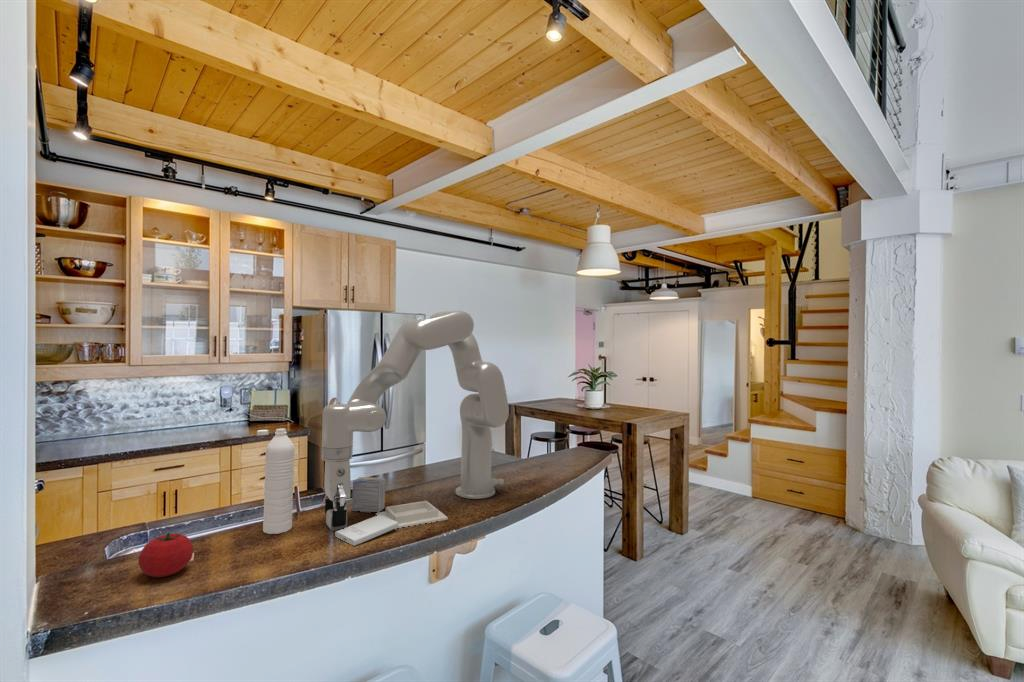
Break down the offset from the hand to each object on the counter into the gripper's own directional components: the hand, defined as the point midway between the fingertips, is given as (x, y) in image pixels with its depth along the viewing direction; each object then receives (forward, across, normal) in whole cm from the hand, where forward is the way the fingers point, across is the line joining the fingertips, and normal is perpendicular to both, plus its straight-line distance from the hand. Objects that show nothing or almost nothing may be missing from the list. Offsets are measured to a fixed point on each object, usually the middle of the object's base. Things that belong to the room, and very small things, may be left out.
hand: (335, 519), depth 120 cm
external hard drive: (+1, -10, -6) cm, 11 cm away
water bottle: (+2, +3, +14) cm, 14 cm away
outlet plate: (+1, -4, -19) cm, 19 cm away
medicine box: (+2, +7, -10) cm, 13 cm away
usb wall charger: (+2, 0, 0) cm, 2 cm away
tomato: (+2, -11, +34) cm, 36 cm away
